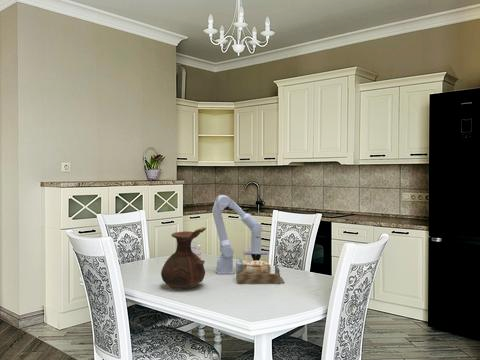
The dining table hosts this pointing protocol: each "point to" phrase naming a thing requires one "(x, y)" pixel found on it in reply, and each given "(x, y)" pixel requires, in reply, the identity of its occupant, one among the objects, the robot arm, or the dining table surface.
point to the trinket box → (256, 267)
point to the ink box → (196, 248)
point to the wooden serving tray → (254, 276)
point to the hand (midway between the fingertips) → (255, 267)
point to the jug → (183, 263)
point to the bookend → (278, 273)
